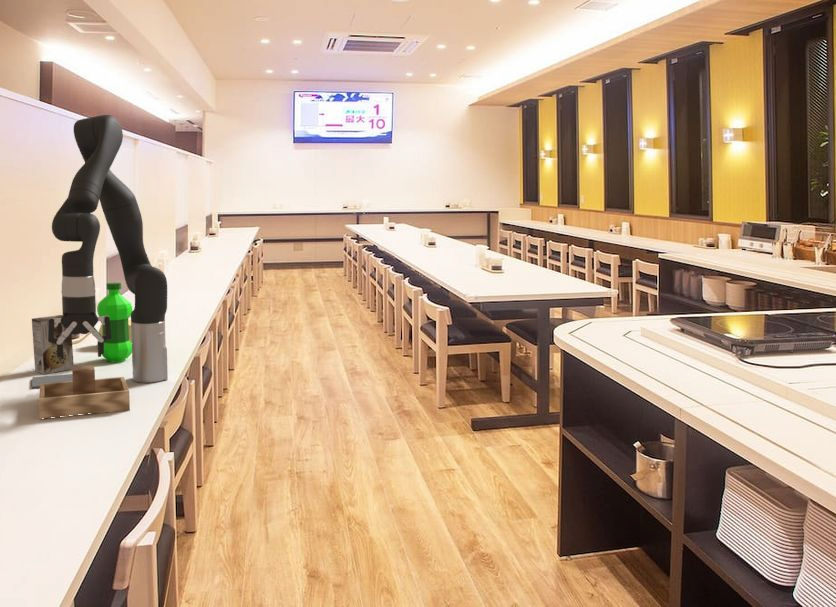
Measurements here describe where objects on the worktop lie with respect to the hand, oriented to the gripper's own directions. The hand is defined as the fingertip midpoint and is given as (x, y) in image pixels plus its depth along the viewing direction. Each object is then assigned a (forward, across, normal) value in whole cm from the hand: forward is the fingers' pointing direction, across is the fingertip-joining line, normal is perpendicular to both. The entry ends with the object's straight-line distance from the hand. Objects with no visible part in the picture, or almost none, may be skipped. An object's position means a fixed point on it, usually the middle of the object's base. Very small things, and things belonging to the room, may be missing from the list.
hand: (80, 357), depth 180 cm
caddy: (+13, 0, 0) cm, 13 cm away
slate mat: (+13, +7, -28) cm, 31 cm away
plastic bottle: (+13, -11, -50) cm, 53 cm away
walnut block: (+13, 0, 0) cm, 13 cm away
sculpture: (+13, -12, -72) cm, 74 cm away
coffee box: (+13, +7, -43) cm, 45 cm away
